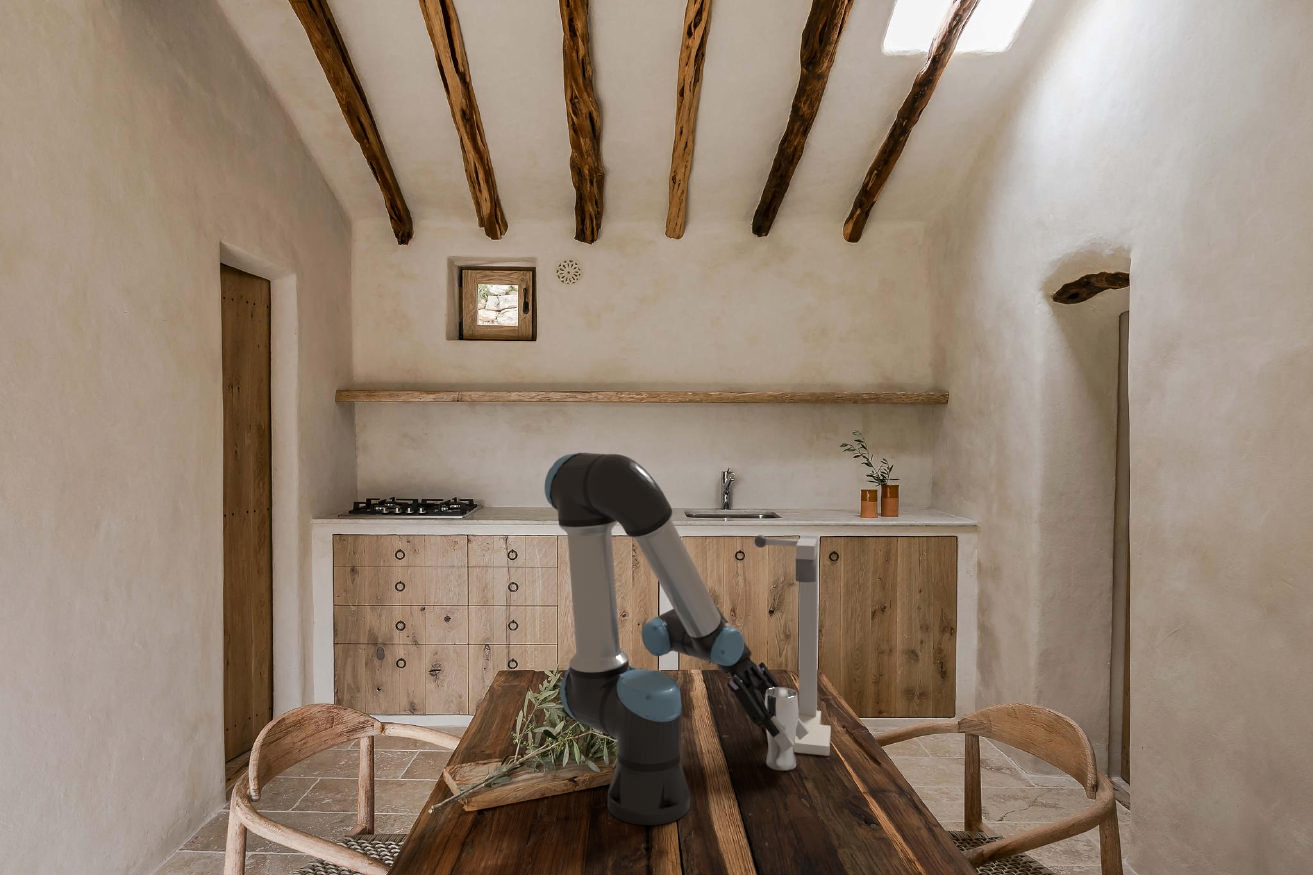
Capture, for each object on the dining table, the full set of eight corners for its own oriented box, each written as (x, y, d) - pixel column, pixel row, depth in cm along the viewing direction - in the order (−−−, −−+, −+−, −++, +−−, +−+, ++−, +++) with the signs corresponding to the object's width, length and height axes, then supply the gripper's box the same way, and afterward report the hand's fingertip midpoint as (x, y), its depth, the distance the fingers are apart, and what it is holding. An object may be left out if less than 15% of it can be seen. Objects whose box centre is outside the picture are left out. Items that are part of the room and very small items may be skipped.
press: (829, 755, 163) (830, 549, 163) (742, 746, 168) (743, 545, 167) (831, 720, 183) (832, 536, 183) (754, 712, 188) (755, 533, 188)
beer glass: (761, 769, 156) (762, 696, 156) (766, 755, 163) (767, 685, 163) (796, 773, 154) (796, 699, 154) (800, 759, 161) (800, 688, 161)
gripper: (738, 649, 175) (804, 736, 166) (693, 671, 159) (763, 768, 150) (759, 629, 172) (827, 717, 163) (715, 649, 156) (788, 748, 147)
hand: (797, 741), depth 157 cm, fingers closed on beer glass, 7 cm apart
